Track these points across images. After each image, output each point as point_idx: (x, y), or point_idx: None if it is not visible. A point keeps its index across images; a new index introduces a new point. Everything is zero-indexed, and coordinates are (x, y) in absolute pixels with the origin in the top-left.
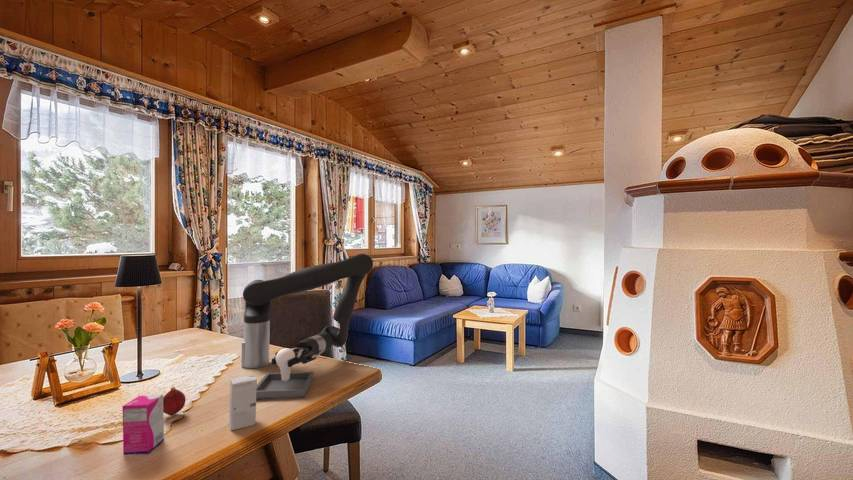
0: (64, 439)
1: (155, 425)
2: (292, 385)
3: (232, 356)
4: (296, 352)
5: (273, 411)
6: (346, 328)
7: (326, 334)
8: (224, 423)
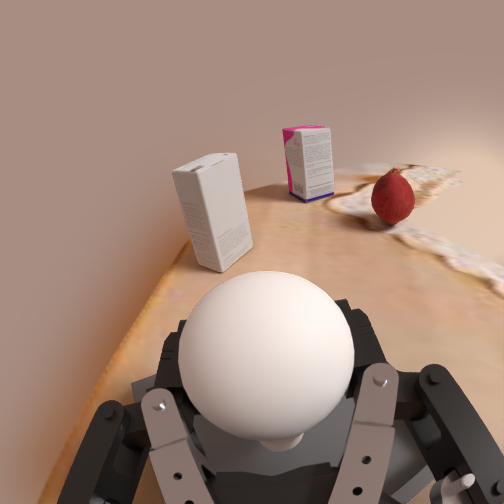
0: (412, 177)
1: (292, 166)
2: (259, 468)
3: None
4: (258, 500)
5: None
6: None
7: None
8: (266, 246)
